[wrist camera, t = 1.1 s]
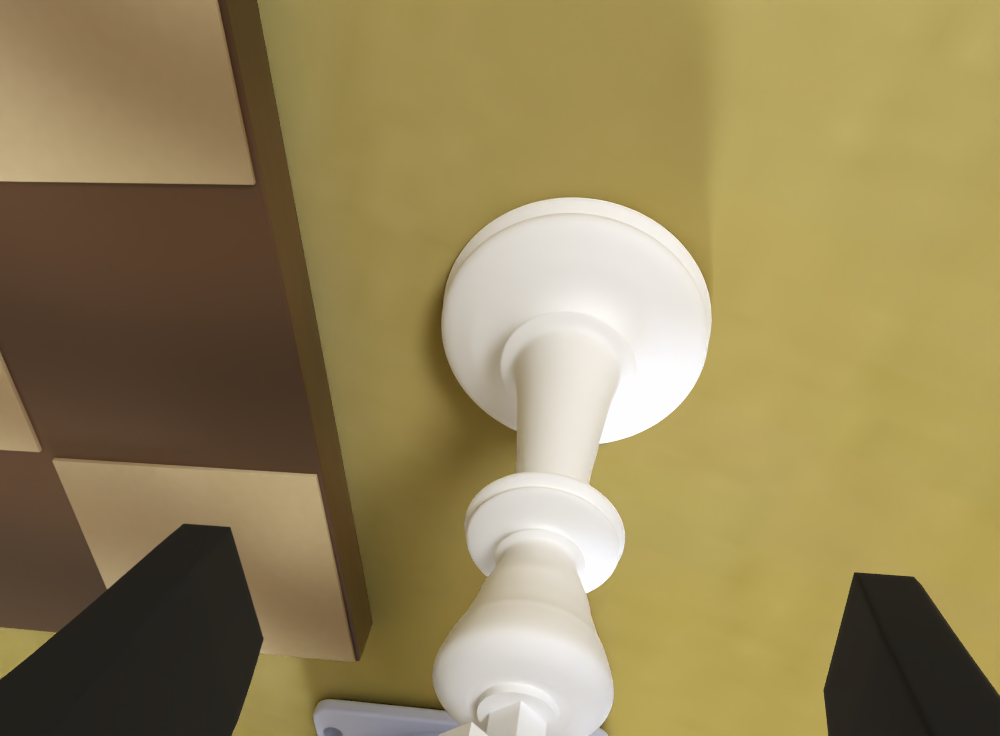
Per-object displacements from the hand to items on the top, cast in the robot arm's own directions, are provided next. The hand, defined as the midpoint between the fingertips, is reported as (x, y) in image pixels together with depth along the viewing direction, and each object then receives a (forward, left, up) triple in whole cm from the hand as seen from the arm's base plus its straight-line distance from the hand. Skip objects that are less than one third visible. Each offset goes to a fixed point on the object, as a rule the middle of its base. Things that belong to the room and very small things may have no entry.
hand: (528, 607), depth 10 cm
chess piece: (0, 0, -7) cm, 7 cm away
